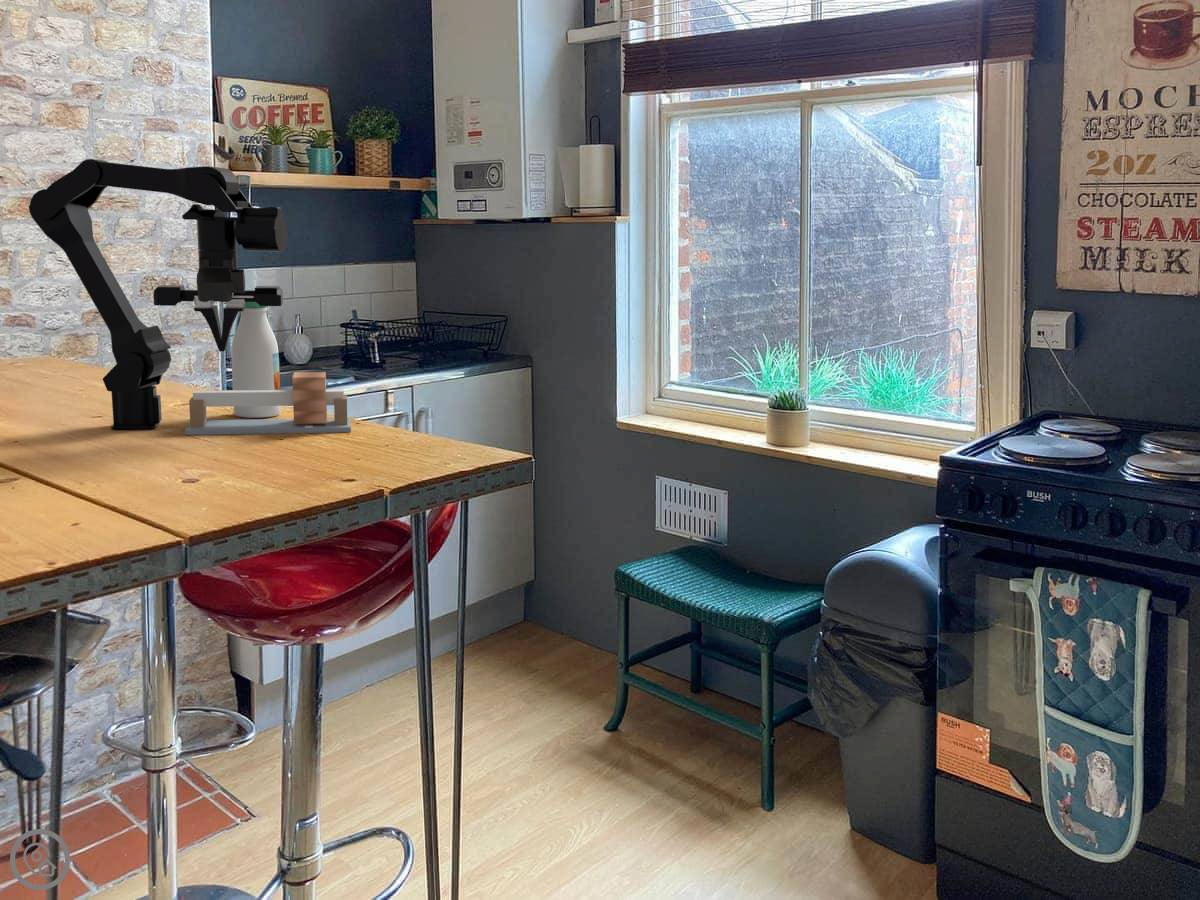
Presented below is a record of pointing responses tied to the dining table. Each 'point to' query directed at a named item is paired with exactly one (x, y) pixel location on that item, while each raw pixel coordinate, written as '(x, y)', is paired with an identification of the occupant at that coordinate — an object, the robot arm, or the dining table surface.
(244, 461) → the dining table surface
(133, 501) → the dining table surface
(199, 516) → the dining table surface
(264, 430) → the rail
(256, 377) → the milk bottle
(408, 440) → the dining table surface
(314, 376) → the collar
